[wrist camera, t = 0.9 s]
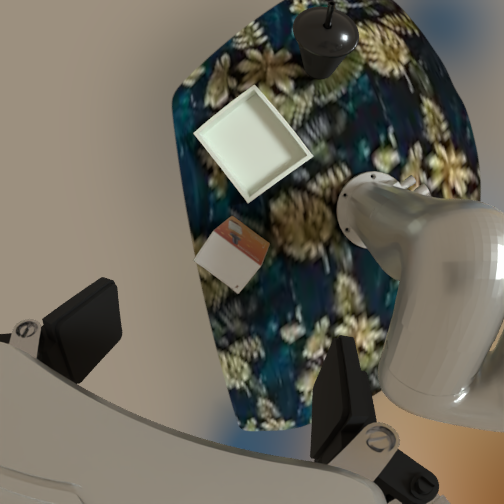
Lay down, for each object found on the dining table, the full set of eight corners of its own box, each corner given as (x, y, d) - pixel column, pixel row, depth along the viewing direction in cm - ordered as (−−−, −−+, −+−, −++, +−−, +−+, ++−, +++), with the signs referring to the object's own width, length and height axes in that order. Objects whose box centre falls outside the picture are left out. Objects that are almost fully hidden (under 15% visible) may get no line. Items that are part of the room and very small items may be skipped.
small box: (270, 243, 45) (263, 266, 35) (251, 267, 47) (238, 295, 37) (232, 214, 45) (213, 229, 35) (213, 239, 47) (191, 261, 37)
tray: (257, 89, 37) (254, 84, 35) (312, 156, 40) (313, 156, 37) (199, 134, 41) (193, 133, 38) (251, 200, 43) (248, 203, 41)
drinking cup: (342, 90, 35) (374, 39, 17) (294, 84, 36) (290, 28, 18) (342, 50, 33) (367, -15, 14) (295, 45, 34) (290, -25, 15)
